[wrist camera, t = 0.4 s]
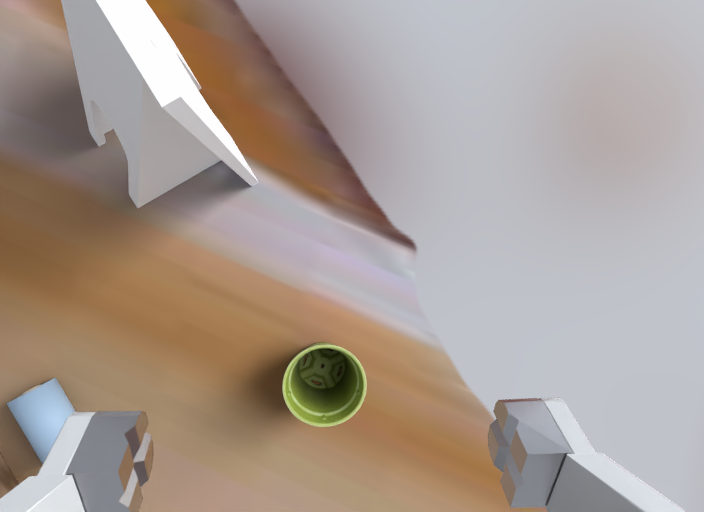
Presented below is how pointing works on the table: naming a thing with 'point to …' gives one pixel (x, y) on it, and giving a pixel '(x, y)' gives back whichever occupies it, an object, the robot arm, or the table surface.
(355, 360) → the plant pot
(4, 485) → the open wooden box
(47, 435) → the blue roll
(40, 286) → the table surface
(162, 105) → the white bracket plate
